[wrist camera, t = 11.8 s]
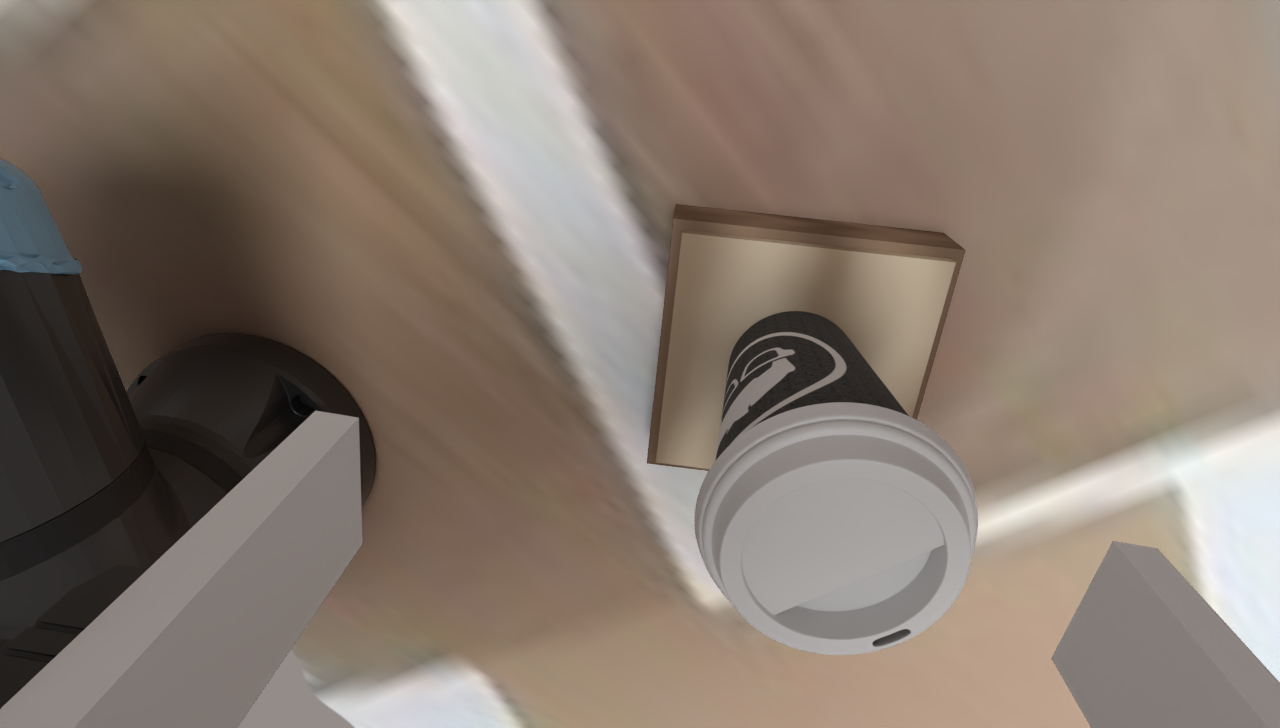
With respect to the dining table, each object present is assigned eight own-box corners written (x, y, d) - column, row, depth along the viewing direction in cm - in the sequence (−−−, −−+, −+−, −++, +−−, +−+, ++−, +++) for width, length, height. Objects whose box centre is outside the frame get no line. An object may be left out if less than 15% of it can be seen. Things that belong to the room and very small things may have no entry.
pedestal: (650, 433, 43) (645, 468, 40) (676, 204, 37) (672, 221, 34) (881, 461, 43) (898, 499, 39) (943, 232, 37) (969, 253, 33)
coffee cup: (712, 460, 39) (716, 682, 25) (684, 297, 35) (671, 455, 22) (892, 438, 38) (998, 662, 24) (882, 266, 34) (1001, 415, 20)
